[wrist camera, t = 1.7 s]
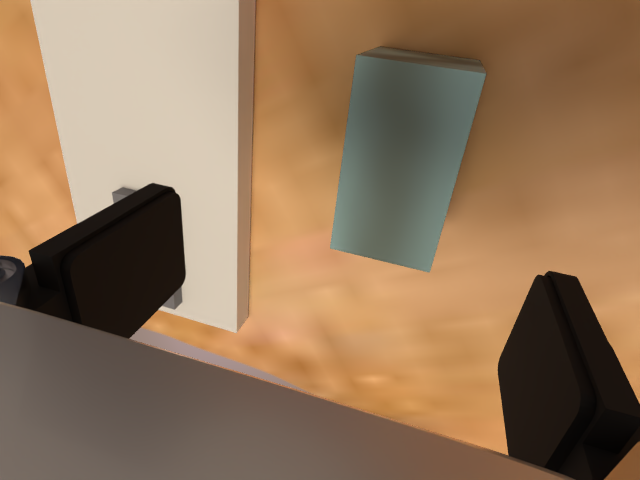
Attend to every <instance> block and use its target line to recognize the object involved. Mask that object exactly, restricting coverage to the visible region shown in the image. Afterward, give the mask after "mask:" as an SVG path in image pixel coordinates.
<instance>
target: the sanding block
mask: <svg viewBox="0 0 640 480" xmlns="http://www.w3.org/2000/svg"><path fill="white" fill-rule="evenodd" d="M485 77H486V72H485V70H484V68H483V66H482V64H481V62H480V60H474V59H467V58H460V57H453V56H445V55H438V54H431V53H424V52H417V51H409V50H402V49H395V48H388V47H381V46H380V47H377V48H375V49H372V50H369V51H366V52H363V53H360V54H358V55H356V61H355V68H354V76H353V83H352V90H351V98H350V105H349V113H348V120H347V127H346V135H345V142H344V149H343V157H342V164H341V171H340V179H339V186H338V193H337V201H336V208H335V216H334V223H333V230H332V238H331V245H330V248H331V249H335V250H339V251H343V252H347V253H351V254H355V255H360V256H364V257H368V258H372V259H376V260H380V261H384V262H388V263H392V264H397V265H401V266H405V267H409V268H413V269H417V270H421V271H425V272H430V270H431V266H432V263H433V259H434V256H435V252H436V249H437V245H438V242H439V238H440V235H441V231H442V228H443V224H444V221H445V217H446V214H447V210H448V207H449V203H450V200H451V196H452V193H453V189H454V186H455V182H456V179H457V175H458V172H459V168H460V165H461V161H462V158H463V154H464V151H465V147H466V144H467V140H468V137H469V133H470V130H471V126H472V123H473V119H474V116H475V112H476V109H477V105H478V102H479V98H480V95H481V91H482V88H483V84H484V81H485Z"/></svg>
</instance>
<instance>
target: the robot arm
mask: <svg viewBox="0 0 640 480" xmlns="http://www.w3.org/2000/svg"><path fill="white" fill-rule="evenodd" d="M29 254H30V257H31V261H32V264H31V265H29V266H27V267H26V268H25V265H24V263H23V262H22V261H21V260H20V259H17V258H15V257H11V256H0V480H640V404H639V402H638V400H637V398H636V395H635V393H634V391H633V389H632V387H631V385H630V383H629V381H628V379H627V377H626V375H625V373H624V371H623V369H622V367H621V364H620V362H619V360H618V358H617V356H616V354H615V352H614V350H613V348H612V346H611V345H610V344H609V342H608V341H607V338H606V336H605V334H604V332H603V330H602V328H601V326H600V324H599V322H598V320H597V318H596V316H595V313H594V311H593V309H592V307H591V305H590V303H589V301H588V299H587V297H586V295H585V293H584V290H583V288H582V286H581V284H580V282H579V280H578V278H577V277H575V276H571V275H566V274H562V273H557V272H553V271H548V272H547V273H546V274H545V275H544V276H543V275H537V276H536V278H535V279H534V281H533V284H532V286H531V288H530V290H529V293H528V295H527V297H526V300H525V302H524V304H523V306H522V309H521V311H520V313H519V315H518V318H517V320H516V322H515V324H514V327H513V329H512V331H511V334H510V336H509V338H508V340H507V343H506V345H505V347H504V349H503V352H502V354H501V356H500V359H499V363H498V377H499V385H500V392H501V400H502V408H503V416H504V423H505V431H506V439H507V447H508V454H509V456H508V455H505V454H502V453H499V452H496V451H493V450H490V449H487V448H484V447H480V446H477V445H474V444H471V443H468V442H464V441H461V440H458V439H455V438H452V437H448V436H445V435H442V434H439V433H436V432H432V431H429V430H426V429H423V428H419V427H416V426H413V425H410V424H407V423H403V422H400V421H397V420H394V419H390V418H387V417H384V416H381V415H378V414H374V413H371V412H368V411H365V410H361V409H358V408H355V407H352V406H348V405H345V404H342V403H339V402H336V401H332V400H329V399H326V398H323V397H319V396H316V395H313V394H310V393H306V392H303V391H300V390H297V389H293V388H290V387H287V386H283V385H280V384H277V383H273V382H270V381H267V380H264V379H260V378H257V377H254V376H251V375H247V374H244V373H241V372H238V371H234V370H231V369H227V368H224V367H221V366H218V365H214V364H211V363H208V362H205V361H201V360H198V359H195V358H191V357H188V356H185V355H181V354H178V353H175V352H171V351H168V350H165V349H161V348H158V347H154V346H151V345H148V344H144V343H141V342H137V341H134V340H131V339H129V338H130V337H131V336H132V335H133V334H134V333H135V332H136V331H137V330H138V329H139V328H140V327H141V326H142V325H143V324H144V323H145V322H146V321H147V320H148V319H149V318H150V317H151V316H152V315H153V314H154V313H155V312H156V311H157V310H158V309H159V308H160V307H161V306H162V305H163V304H164V303H165V302H166V301H167V300H168V299H169V298H170V297H171V296H172V295H173V294H174V293H175V292H176V291H177V290H178V289H179V288H180V287H181V286H182V285H183V283H184V281H185V277H186V268H185V254H184V240H183V225H182V211H181V199H180V196H179V195H178V194H177V193H176V192H175V189H174V188H173V187H169V186H164V185H160V184H155V183H150V184H148V185H146V186H145V187H143V188H141V189H139V190H137V191H136V192H134V193H132V194H130V195H128V196H127V197H125V198H123V199H121V200H119V201H118V202H116V203H114V204H112V205H110V206H108V207H107V208H105V209H103V210H101V211H99V212H98V213H96V214H94V215H92V216H90V217H89V218H87V219H85V220H83V221H81V222H80V223H78V224H76V225H74V226H72V227H71V228H69V229H67V230H65V231H63V232H62V233H60V234H58V235H56V236H54V237H53V238H51V239H49V240H47V241H45V242H43V243H42V244H40V245H38V246H36V247H34V248H33V249H31V250H29Z"/></svg>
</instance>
